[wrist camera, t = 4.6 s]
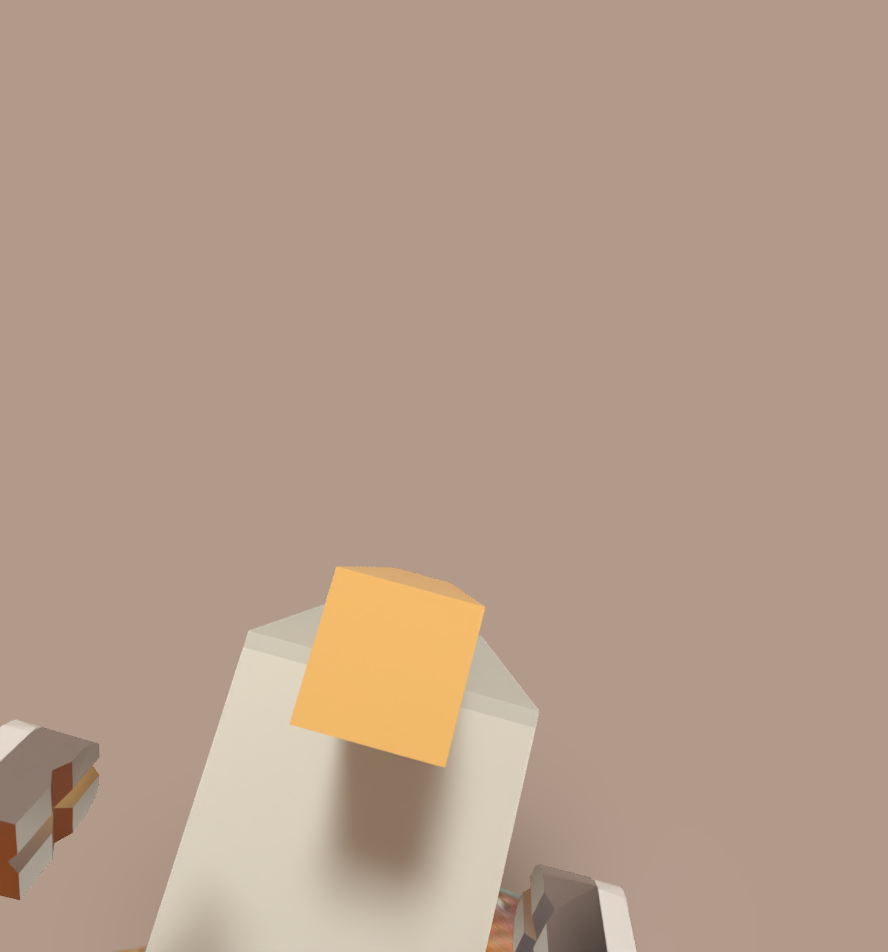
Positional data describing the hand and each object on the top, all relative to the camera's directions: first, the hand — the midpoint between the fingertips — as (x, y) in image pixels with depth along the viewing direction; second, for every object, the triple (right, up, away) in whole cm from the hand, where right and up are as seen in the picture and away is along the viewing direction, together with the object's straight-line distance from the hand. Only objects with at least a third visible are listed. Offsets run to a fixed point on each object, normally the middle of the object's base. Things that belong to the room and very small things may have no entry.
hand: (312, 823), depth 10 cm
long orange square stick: (0, -2, +16) cm, 16 cm away
